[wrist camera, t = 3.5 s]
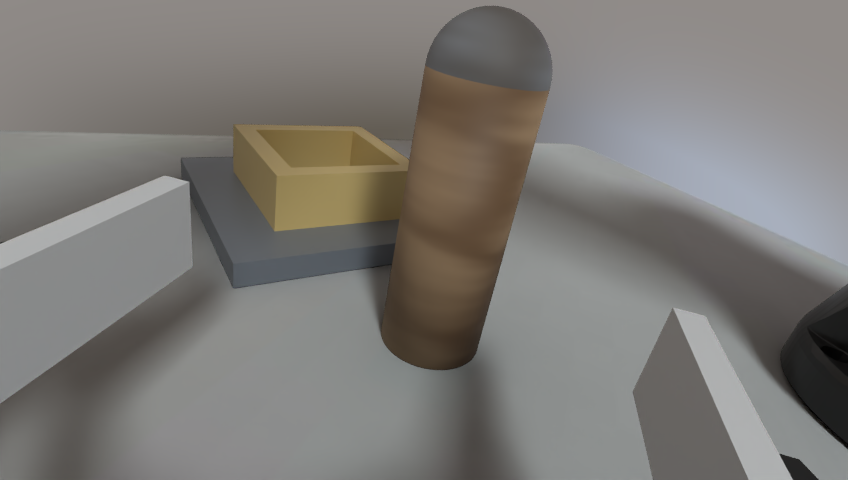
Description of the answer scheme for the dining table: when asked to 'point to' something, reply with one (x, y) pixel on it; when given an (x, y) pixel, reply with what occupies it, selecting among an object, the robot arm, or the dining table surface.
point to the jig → (299, 201)
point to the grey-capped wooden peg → (464, 182)
